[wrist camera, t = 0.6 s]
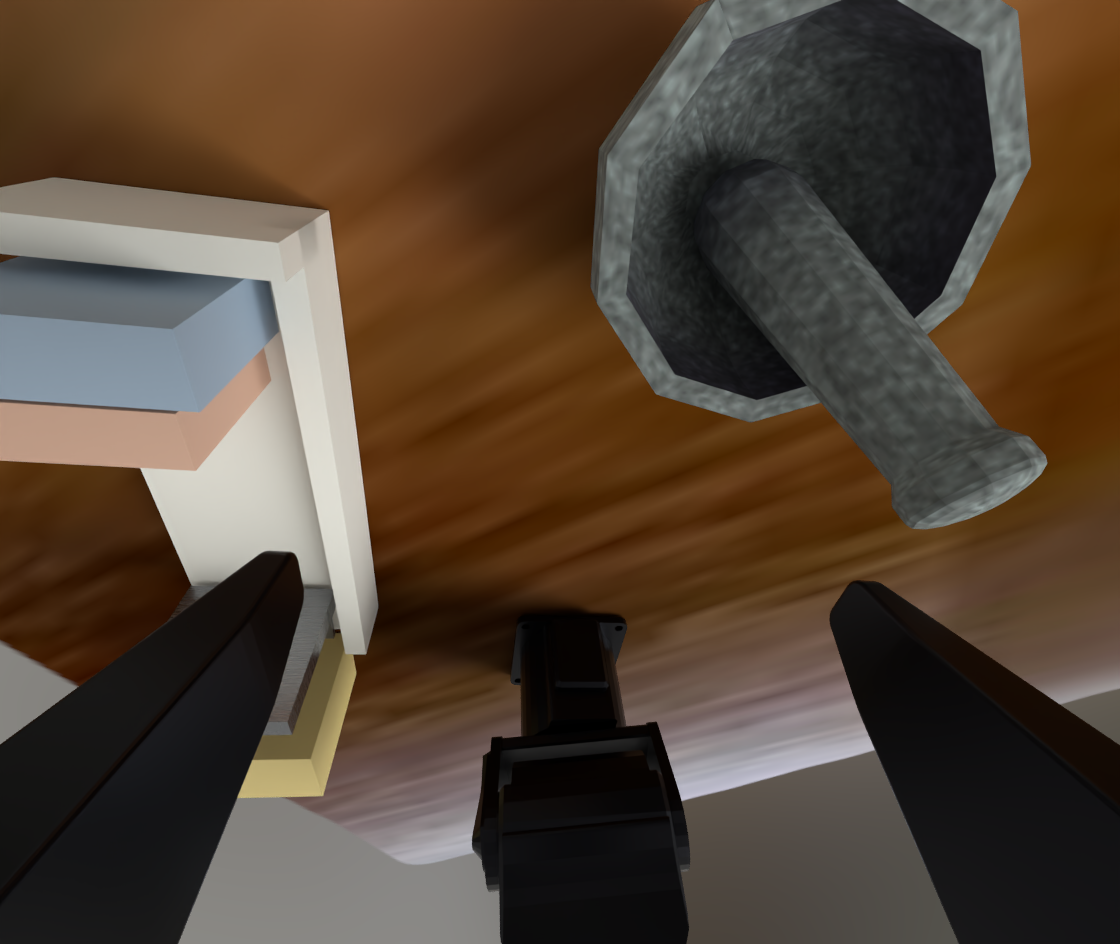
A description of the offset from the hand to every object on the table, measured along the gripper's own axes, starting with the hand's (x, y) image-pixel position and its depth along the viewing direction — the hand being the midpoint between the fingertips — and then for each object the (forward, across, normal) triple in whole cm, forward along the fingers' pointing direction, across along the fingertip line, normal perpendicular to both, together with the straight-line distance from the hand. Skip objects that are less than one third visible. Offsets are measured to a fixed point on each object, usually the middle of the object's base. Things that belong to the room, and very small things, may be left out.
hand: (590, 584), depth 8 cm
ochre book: (+14, +12, +22) cm, 29 cm away
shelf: (+14, +11, +8) cm, 19 cm away
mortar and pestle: (+14, -5, -4) cm, 15 cm away
